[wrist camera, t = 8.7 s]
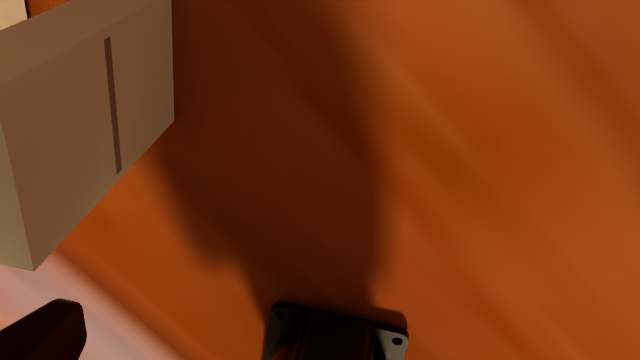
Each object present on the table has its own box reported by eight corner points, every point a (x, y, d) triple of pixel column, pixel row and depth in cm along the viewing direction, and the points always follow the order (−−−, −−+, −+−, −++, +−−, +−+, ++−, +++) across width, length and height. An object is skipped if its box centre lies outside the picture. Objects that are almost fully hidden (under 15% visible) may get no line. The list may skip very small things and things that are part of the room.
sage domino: (172, -9, 18) (-5, 89, 11) (175, 120, 21) (35, 271, 14) (115, -19, 19) (-98, 70, 11) (125, 110, 21) (-41, 254, 14)
